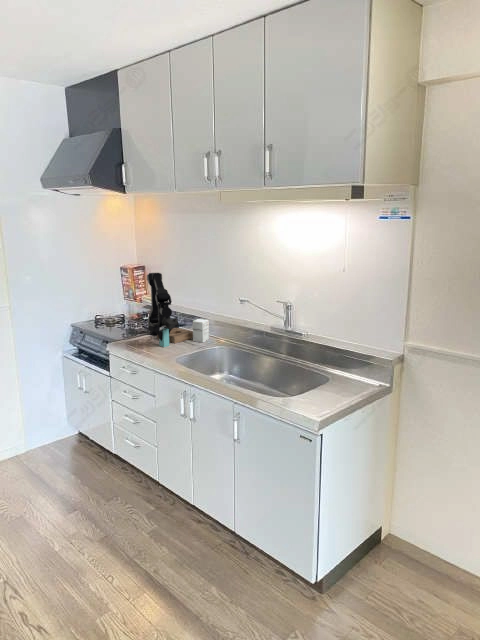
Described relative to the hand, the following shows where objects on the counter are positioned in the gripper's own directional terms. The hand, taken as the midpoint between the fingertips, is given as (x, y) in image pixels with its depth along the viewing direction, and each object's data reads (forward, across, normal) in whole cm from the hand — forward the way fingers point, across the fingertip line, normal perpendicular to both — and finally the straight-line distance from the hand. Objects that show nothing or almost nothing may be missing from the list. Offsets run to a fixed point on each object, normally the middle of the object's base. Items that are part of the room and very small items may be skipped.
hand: (164, 339), depth 279 cm
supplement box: (+4, +22, -8) cm, 24 cm away
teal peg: (+4, 0, 0) cm, 4 cm away
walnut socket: (+4, +15, +7) cm, 17 cm away
